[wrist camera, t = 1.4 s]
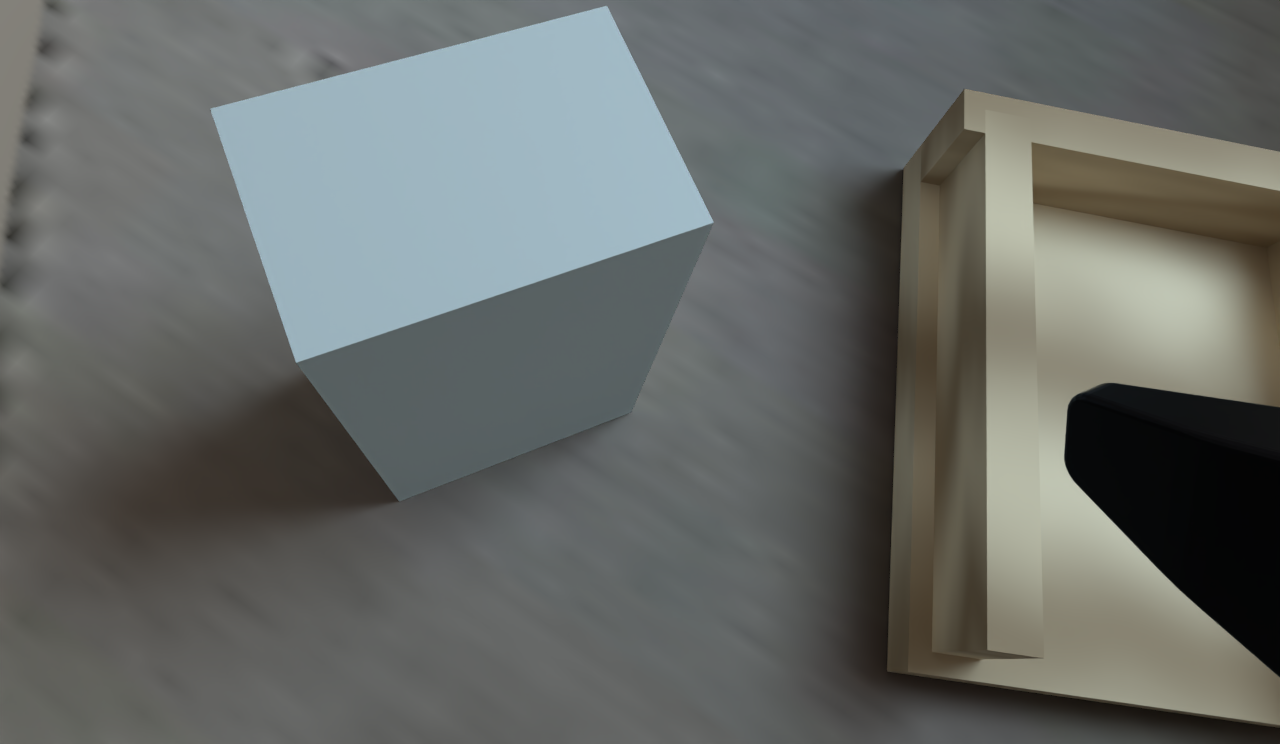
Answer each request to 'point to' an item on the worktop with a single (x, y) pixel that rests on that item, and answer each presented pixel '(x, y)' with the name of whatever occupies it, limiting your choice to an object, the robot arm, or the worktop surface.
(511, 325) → the pale blue box
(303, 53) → the worktop surface
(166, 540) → the worktop surface
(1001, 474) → the wooden tray
